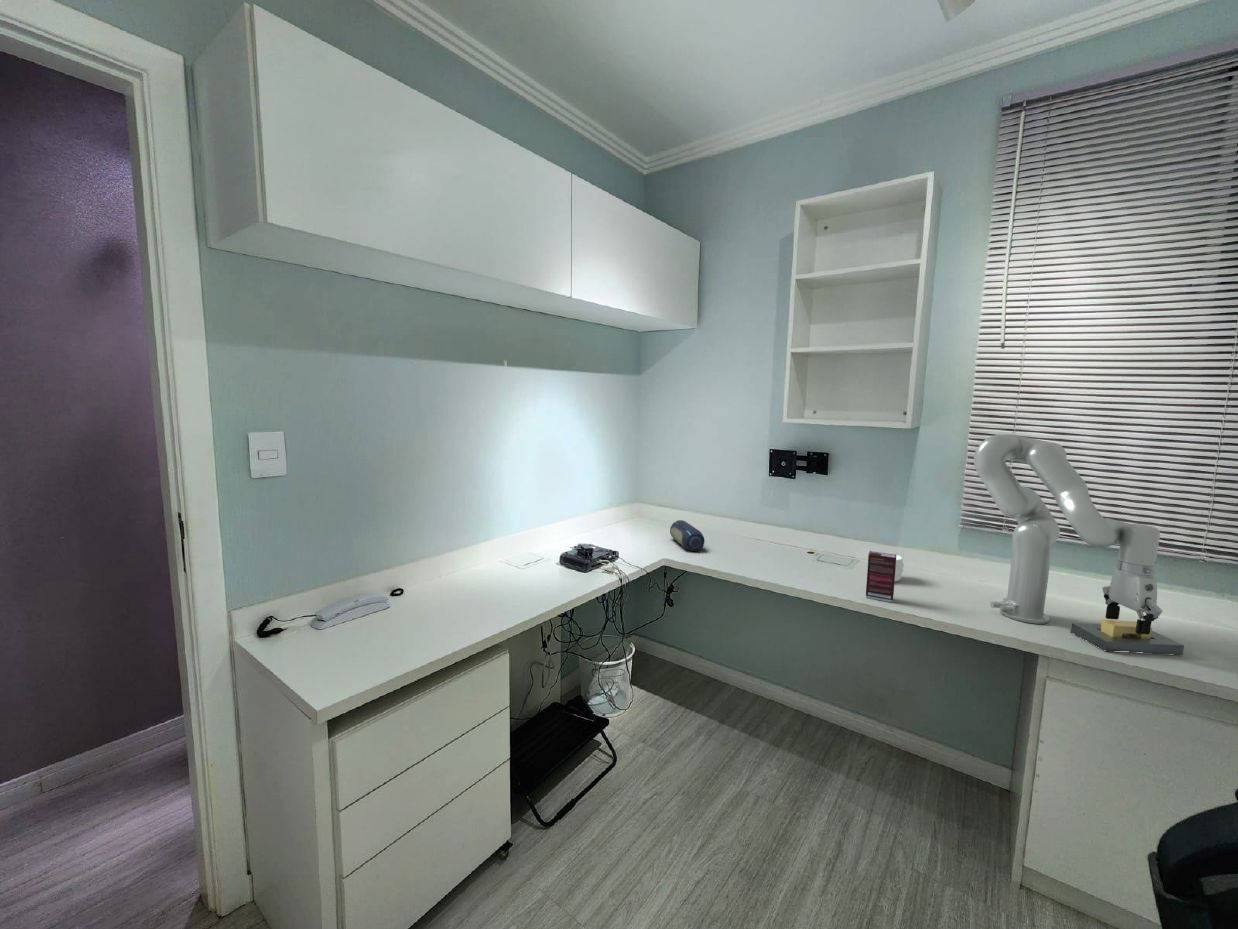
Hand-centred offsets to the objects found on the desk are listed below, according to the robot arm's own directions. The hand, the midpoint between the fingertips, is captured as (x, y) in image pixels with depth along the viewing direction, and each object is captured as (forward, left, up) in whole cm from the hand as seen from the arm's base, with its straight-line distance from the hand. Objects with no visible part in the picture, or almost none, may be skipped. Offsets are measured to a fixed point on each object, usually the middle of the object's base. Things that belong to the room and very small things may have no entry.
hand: (1126, 626), depth 147 cm
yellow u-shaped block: (0, 0, -5) cm, 5 cm away
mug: (-46, +47, -6) cm, 66 cm away
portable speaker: (-121, +83, -6) cm, 147 cm away
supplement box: (-57, +27, -5) cm, 63 cm away
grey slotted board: (0, 0, -5) cm, 5 cm away
